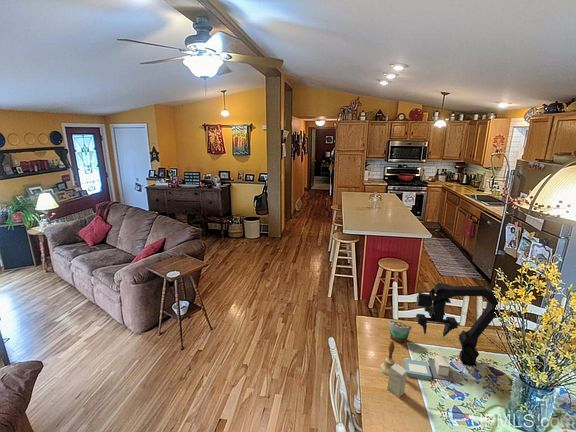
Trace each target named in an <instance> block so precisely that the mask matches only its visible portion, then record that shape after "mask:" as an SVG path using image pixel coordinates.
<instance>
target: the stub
mask: <svg viewBox="0 0 576 432" xmlns="http://www.w3.org/2000/svg"><path fill="white" fill-rule="evenodd" d="M434 361H435V367H436V370H437V374H438V375H444V376H448V373H449V368H450V369H451V366H450V364H449V361H448V358H447V356H445V355H440V354H439V355H438V354H435V359H434Z"/></svg>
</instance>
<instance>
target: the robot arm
mask: <svg viewBox="0 0 576 432" xmlns="http://www.w3.org/2000/svg"><path fill="white" fill-rule="evenodd" d="M493 293H494V292H493V290H491V289H489V288H488V287H487V286H486V285H464V286H462V285H451V284H448V283H442V282H438V283H436V284H435V285H434V287H433V288H432V289H431V290H430V291H428V293H424V292H418V293H417V296H416V307H421V308H424V312H427V313H428V315H429V317H427V316H426V315H425V314H424V313H417V314H416V315H415V320H416V322H417V325H419V326H421V327H422V330H423V334H424V335H426V334H427V327H428V325H427V324H428V323H436V324H437V323H438V324H444V328H443V332H442V336H443V337H446V336H447V335H448V334H449V333H450V332H451V331H452V330H455V329H458V328H459V327H458V326H459V323H458V322H457V319H456V318H455V317H454V316H445V315H446V313H445V311H446V305H447V303H448V304H451V303H452V302H451V299H452V298H454V297H483V298H484V299H486V301H487V302H486V306H485V309H484V310H483V312H482V313H481V314H480V316H479V317H478V318H477V320H476V321H475V322H474V323H473V324H472V326H471V327H470V329H469V330H466V331H465V330H464V329H463V330H462V331H461V332H460V334H458V341H459V344H460V346H461V350H460V351H459V354H458V358H459V360H460V362H461V364H462V365H463V366H464V365H465V366H470V367H477V366H478V365H477V363H476V362H477V358H478V357H479V356H480V353H479V351H478V349H477V346H478V341H479V337H480V336H481V335H482V334H483V332H484V331H485V330H486V329H487V327H489V325H490V324H491V323H492V321H493V320H494V319H495V318H496V317H497V316H496V314H495V313H494V312H495V307H496V305H497V304H498V302H497V300H496V298H495V296H494V294H493ZM444 316H445V318H444Z"/></svg>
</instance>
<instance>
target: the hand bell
mask: <svg viewBox="0 0 576 432" xmlns="http://www.w3.org/2000/svg"><path fill="white" fill-rule="evenodd" d="M394 351H395V341H393V340H392V341H390V343H389V345H388V357H385V358H384V361H383V363H381V364H380V365H379V369H380V371H381V372H382V373H383V374H384V375H387V376H389V374H390V367H391V366H392V365H394V364H395V363H396V362H395V360H394V358H393V354H394Z"/></svg>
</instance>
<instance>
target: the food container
mask: <svg viewBox="0 0 576 432" xmlns="http://www.w3.org/2000/svg"><path fill="white" fill-rule="evenodd" d="M388 326H389V337H390V339H391V340H392V341H393V342H394V343H399V344H404V343H406V342H407V341H408V339H409V335H410V331H411V330H412V326H413V325H407V324H404V323H403V322H397V321H392V320H391V319H389V321H388Z"/></svg>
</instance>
